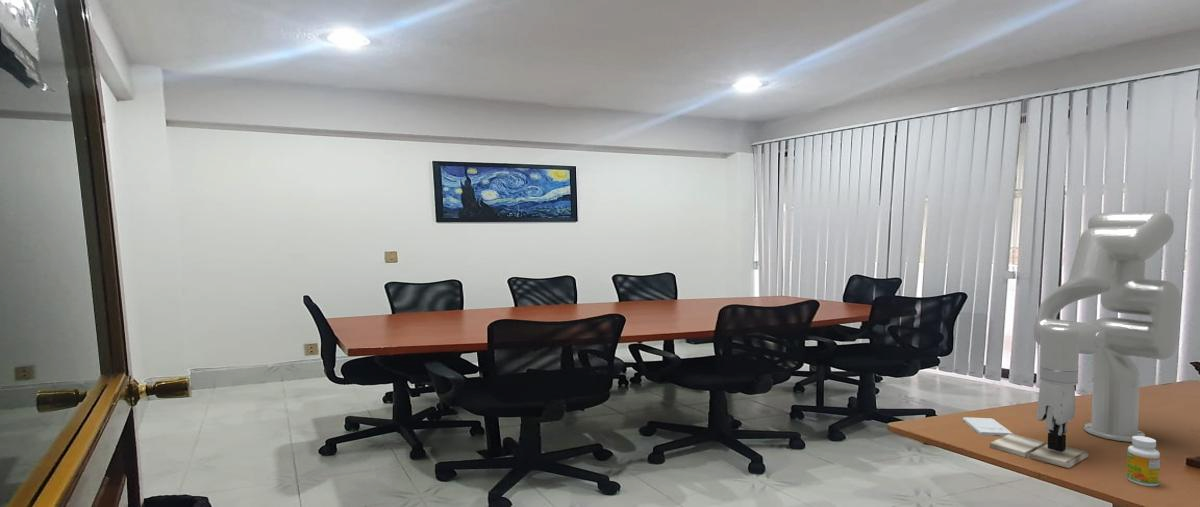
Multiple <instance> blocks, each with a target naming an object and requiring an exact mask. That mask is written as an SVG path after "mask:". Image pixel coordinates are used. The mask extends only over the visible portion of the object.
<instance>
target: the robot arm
mask: <svg viewBox="0 0 1200 507" xmlns="http://www.w3.org/2000/svg"><path fill="white" fill-rule="evenodd" d="M1174 230H1175V223H1174V220H1173V218H1172V217H1171V216H1170V215H1169V214H1168V213H1167V212H1164V211H1163V212H1162V211H1109V212H1108V211H1107V212H1100V213H1096V214H1094V215H1092V216H1091V217H1090V218H1089V219H1088V222H1087V229H1086V230H1084V231H1083V232H1082V233H1081V235H1080V237H1079V240H1078V242H1077V243H1078V244H1077V248H1076V251H1075V255H1074V259H1073V263H1072V265H1071V269H1070V274H1069V277H1068V279H1067V281H1065V282H1064V283H1063V284H1062V285H1059V286H1058V287H1056V288H1055V289H1054V290H1053V291H1052V292H1050V293H1049V295H1048V296H1046V298H1045V299H1043V301H1042V302H1041V304H1040V305H1039V308H1038V311H1037V314H1036V315H1037V316H1036V318H1035V320H1034V327H1033V338H1034V341H1035V342H1036V343H1037V344H1038V345H1039V348H1040V349H1039V351H1040V353H1039V378H1038V379H1039V381H1040V385H1039V391H1038V399H1037V401H1038V402H1037V410H1036V419H1037V421H1039V422H1042V421H1045V425H1044V427H1045V430H1047V444H1048V448H1049V449H1052V450H1056V451H1060V452H1063V451H1065V450H1066V447H1067V445H1066V444H1067V442H1066V441H1067V435H1066V434H1067V429H1068V423H1069V422H1070V421H1072V420H1073V419H1074V417H1075V415H1076V414H1075V412H1076V388H1075V386H1077V385H1078V384H1079V361H1080V360H1079V359H1080V355H1079V354H1083V355H1084V354H1085V355H1091V354H1092V360H1093V361H1092V362H1093V364H1092V365H1093V366H1092V396H1091V397H1092V398H1091V399H1092V400H1091V401H1092V403H1091V422H1088V423H1085V424H1084V427H1083V428H1084V431H1085V432H1087V433H1089V434H1091V435H1093V436H1096V437H1099V438H1103V439H1107V440H1112V441H1118V442H1119V441H1120V442H1128V443H1129V442H1130V443H1132V437H1133V436H1144V437H1146V434H1145V433H1144V432H1143V431H1141V430H1139V402H1140V401H1139V400H1140V398H1139V397H1140V371H1139V369H1138V367H1137V365H1136V363H1135V362H1134V361H1133V359H1132V358H1131V357H1138V358H1145V359H1151V360H1159V361H1160V360H1162V361H1163V360H1164V361H1165V360H1169V359H1171V358H1173V357H1174V355H1175V353H1176V351H1177V346H1178V341H1179V328H1180V318H1181V309H1182V308H1181V306H1182V298H1181V296H1182V295H1181V291H1180V289H1179V288H1178V286H1177V285H1176V284H1174V283H1173V282H1171V281H1168V280H1162V279H1147V278H1145V271H1146V261H1147V260H1148V259H1150V258H1152V257H1153V256H1154V255H1156V253H1158V251H1160V250H1161V249H1162V248H1163V247H1164V246H1165V245H1166V244H1167V243H1168V242H1169V241H1170V240H1171V238H1172V236H1173V233H1174ZM1098 295H1100V303H1101V306H1102V308H1103V309H1105V310H1107V311H1109V312H1112V313H1118V314H1126V315H1127V314H1128V315H1134V316H1135V315H1136V316H1138V315H1139V316H1147V317H1150V318H1151V320H1150V321H1148V320H1141V319H1133V318H1131V319H1130V318H1122V317H1102V318H1101V317H1100V318H1098V319H1096V320H1094V321H1093V322H1092V323H1089V322H1083V321H1082V322H1080V321H1073V320H1065V319H1064V320H1063V319H1057V316H1058V314H1060V312H1061V311H1062V310H1063V309H1064V308H1065V307H1067V306H1068V305H1070V304H1072V303H1075V302H1078V301H1080V300H1081V301H1082V300H1085V299H1087V298H1092V297H1095V296H1098Z"/></svg>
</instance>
